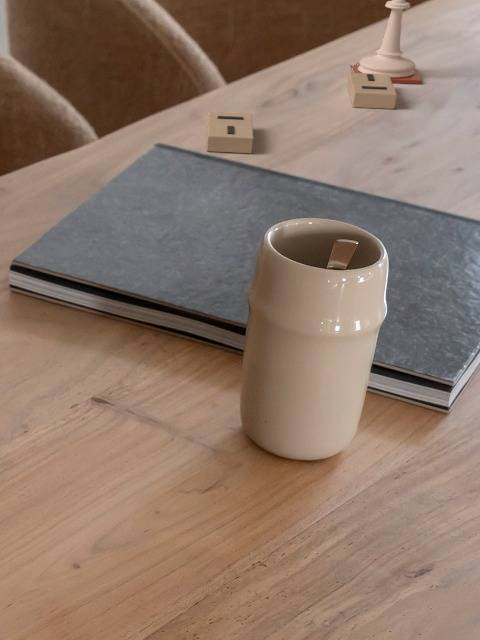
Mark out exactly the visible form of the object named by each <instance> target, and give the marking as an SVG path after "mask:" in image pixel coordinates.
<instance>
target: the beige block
mask: <svg viewBox="0 0 480 640" xmlns="http://www.w3.org/2000/svg"><path fill="white" fill-rule="evenodd" d="M346 88H347V91H348V95H349V99H350V103H351V106H352V108H361V109H362V108H363V109H383V110H384V109H388V110H394V109H395V107H396V104H397V103H396V102H397V99H398V98H397V97H398V94H397V92H396V89H395V87H394V83H392V81H391V79H390V76H389V75H388V74H368V73H353V72H349V73H348V76H347V83H346Z"/></svg>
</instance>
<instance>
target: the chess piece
mask: <svg viewBox="0 0 480 640" xmlns="http://www.w3.org/2000/svg"><path fill="white" fill-rule="evenodd" d="M384 7H386V8H387V9H390V14H389V18H388V21H387V24H386V29H385V32H384V36H383V38H382V41H381V44H380V47H379V49H377V50H376V51H375V53H377V54H374V55H368V56H365V57H363V58H362V59H361V60H360V61H359V63H360V66H359V67H358V70H359V71H360V72H361V73H368V74H388V75H389V76H390V78H400V77H408V76H411V75H413V74H414V73H415V71H414V68H416V63H415V62H414V61H412V60H411V59H409V58H407V57H404V56H402V55H403V54H404V52H403V51H401V35H402V22H403V21H402V20H403V10H408V9H410V8H411V3H410V2H408V1H406V0H388V1H386V3H385V4H384Z"/></svg>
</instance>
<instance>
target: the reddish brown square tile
mask: <svg viewBox="0 0 480 640" xmlns="http://www.w3.org/2000/svg"><path fill="white" fill-rule="evenodd" d="M356 63H357V64H358V63H359V62H356ZM357 64H356V65H354V66H352V67H353V71H354V73H361V72H360V71H359V70H358V67H359V66H360V64H359V65H358V66H357ZM414 71H415V73H414V74H413V75H411V76H408V77H400V78H390V79H391V81H392V84H412V85H421V84H422V79H421V77H420V75H419V72H418V71H417V68H416V67H415V68H414Z"/></svg>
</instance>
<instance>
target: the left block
mask: <svg viewBox="0 0 480 640" xmlns="http://www.w3.org/2000/svg"><path fill="white" fill-rule="evenodd" d="M253 145H254V128H253V115H252V114H251V113H239V112H237V113H236V112H218V111H217V112H215V111H209V112H208V113H207V123H206V152H215V153H231V154H232V153H233V154H252V153H253Z"/></svg>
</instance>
